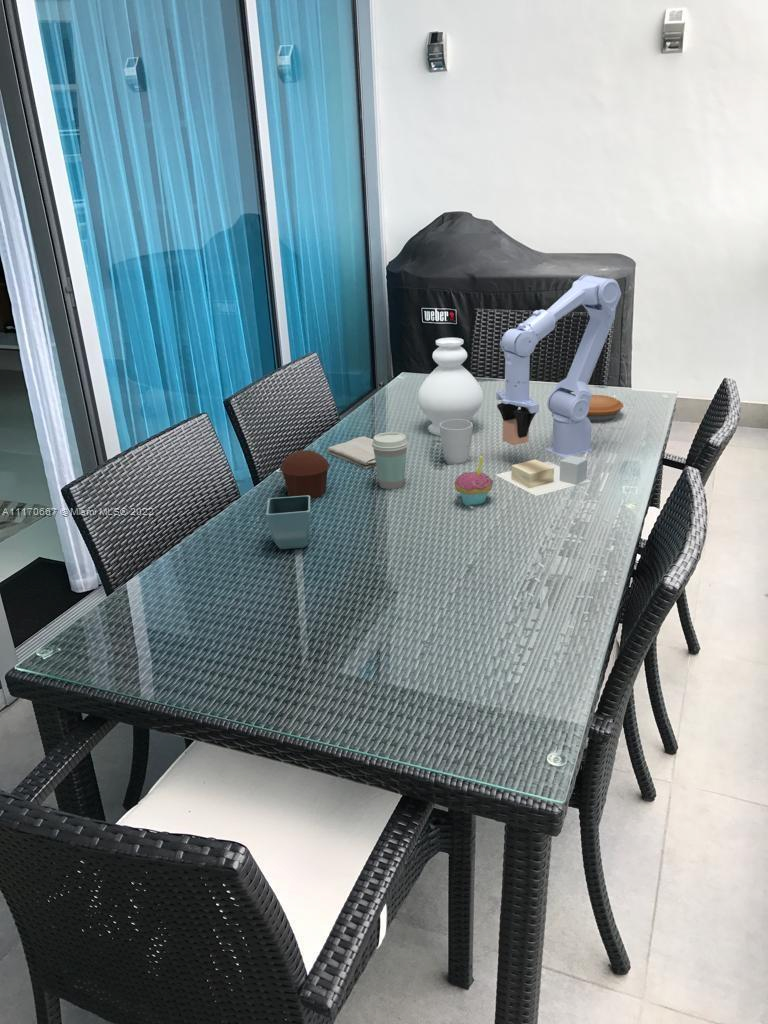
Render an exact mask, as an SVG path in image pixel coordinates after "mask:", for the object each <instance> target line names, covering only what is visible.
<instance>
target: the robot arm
mask: <svg viewBox="0 0 768 1024" xmlns="http://www.w3.org/2000/svg"><path fill="white" fill-rule="evenodd" d="M621 291H622V290H621V288H620V285H619V283H618V281H617V280H616V279H614V278H607V277H606V278H605V277H600V276H593V275H591V274H583V275H581V276H580V277H579V278H578V279H577V280H575V281H573V282H572V285H571V288H570V289H568V291H566V292H565V293H564V294H563V295H562V296H561V297H560V298H559V299H557V300H556V301H555V302H554V303H553V304H552V305H551V306H550V307H549V308H547V309H546V310H545V309H539V310H537V309H535V311H533V312H532V315H531V316H530V317H528V318H527V319H526V320H525V321H523V322H520V323H519V324H518V326H517V327H516V328H510V329H508V330H506V331H505V332H504V333H503V336H502V338H501V341H499V345H500V348H501V350H502V351H503V358H504V359H505V361H504V365H505V366H504V371H505V372H504V376H505V377H504V380H505V381H504V390H499V391H496V392H495V400H497V401H501V403H497V404H496V407H497V409H498V411H499V413H500V415H501V417H502V420H503V421H506V420H511V419H515V418H516V421H517V431H518V437H519V438H522V437H526V436H527V434H528V430H529V431H530V426H531V423H532V421H533V419H534V417H535V416H536V414H537V413H539V411H540V409H539V408H540V406H539V405H540V404H539V403H537V402H535V401H534V400H533V399H532V397H530V364H531V363H530V362H531V360H530V359H531V356H530V355H532V353H534V351H535V348H536V346H537V344H538V343H539V342H540V341H541V340H542V339H543V338H545V337H546V336H547V335H549V333H551V332H552V331H554V330H555V328H556V323H557V322H558V321H559V320H560V319H562V318H563V317H565V316H566V315H567V314H569V313H570V312H572V311H574V310H575V309H577V308H578V307H580V306H583V307H584V309H585V310H586V311H587V313H588V315H589V320H588V323H587V325H586V328H585V330H584V333H583V335H582V337H581V340H580V342H579V345H578V347H577V350H576V353H575V356H574V359H573V360H572V363H571V365H570V368H569V371H568V373H567V375H566V378H563V379H562V380H560V381H559V382H557V384H556V386H555V388H554V390H553V391H552V392H551V393H550V394H549V396H548V398H547V409H548V410H549V412H550V413H551V417H552V441H551V442H552V443H551V444H552V445H551V446H549V447H546V448H544V450H546V451H548V452H551V453H553V454H555V455H557V456H560V457H561V458H566V457H568V456H570V455H572V456H576V455H579V454H584V453H588V452H593V449H592V447H591V444H592V423H591V422H590V420H589V419H588V418H587V417H586V416H587V414H588V412H589V406H590V400H591V397H592V395H593V394H592V392H591V390H590V389H589V386H588V385H589V382H590V380H591V379H592V375H593V372H594V371H595V368H596V365H597V363H598V360H599V358H600V355H601V353H602V350H603V347H604V345H605V343H606V340H607V338H608V335H609V332H610V330H611V328H612V325H613V322H614V320H615V317H616V310H617V306H618V303H619V302H620V298H621V296H622V292H621ZM503 421H502V422H503Z"/></svg>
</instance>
